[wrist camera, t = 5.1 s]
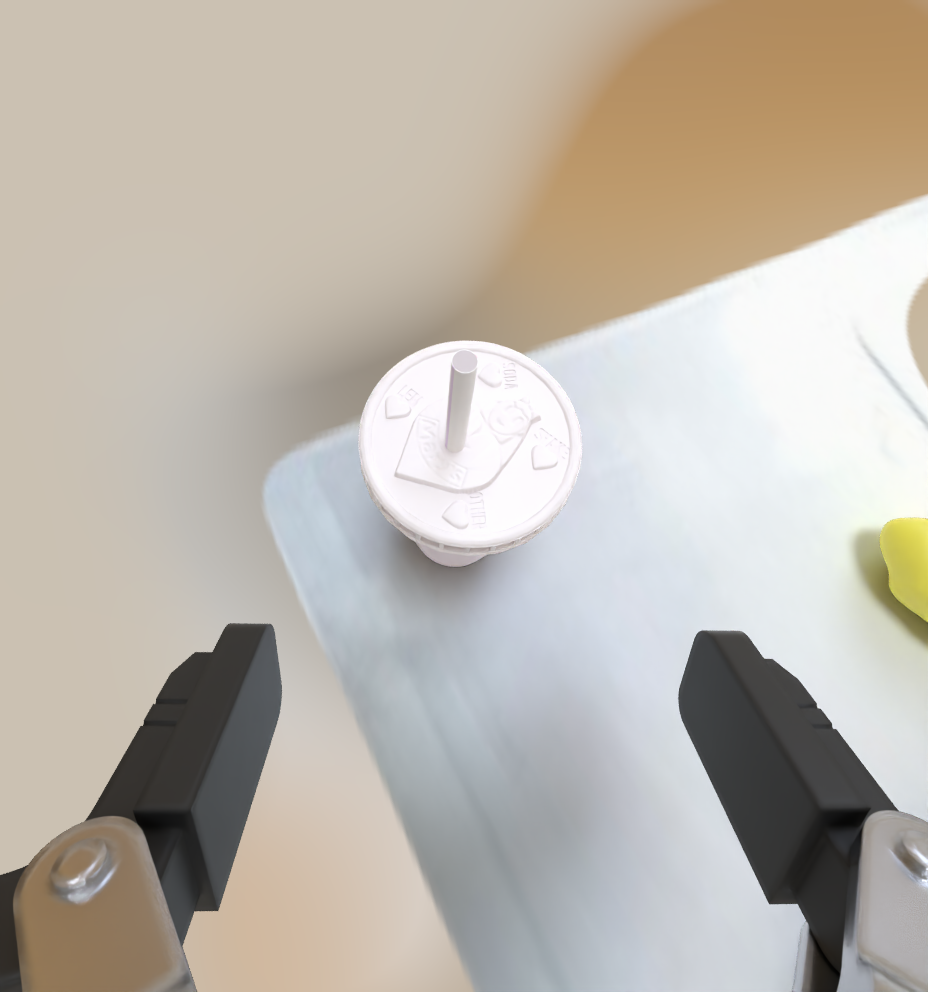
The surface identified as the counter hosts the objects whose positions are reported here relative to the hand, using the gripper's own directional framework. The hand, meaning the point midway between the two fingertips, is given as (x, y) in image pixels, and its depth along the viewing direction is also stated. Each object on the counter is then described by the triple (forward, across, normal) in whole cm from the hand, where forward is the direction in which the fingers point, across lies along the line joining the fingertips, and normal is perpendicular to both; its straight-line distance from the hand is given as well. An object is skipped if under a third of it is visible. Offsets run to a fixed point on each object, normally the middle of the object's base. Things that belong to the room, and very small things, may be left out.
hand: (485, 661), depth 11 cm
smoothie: (+14, 0, +5) cm, 14 cm away
